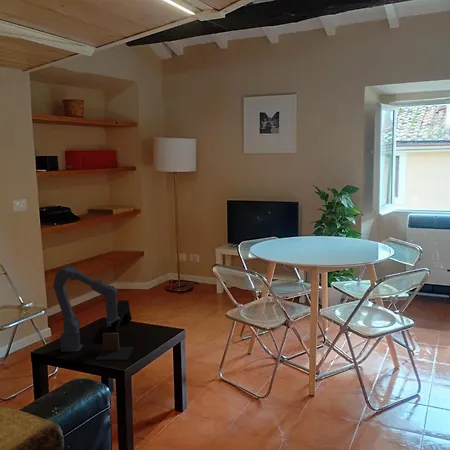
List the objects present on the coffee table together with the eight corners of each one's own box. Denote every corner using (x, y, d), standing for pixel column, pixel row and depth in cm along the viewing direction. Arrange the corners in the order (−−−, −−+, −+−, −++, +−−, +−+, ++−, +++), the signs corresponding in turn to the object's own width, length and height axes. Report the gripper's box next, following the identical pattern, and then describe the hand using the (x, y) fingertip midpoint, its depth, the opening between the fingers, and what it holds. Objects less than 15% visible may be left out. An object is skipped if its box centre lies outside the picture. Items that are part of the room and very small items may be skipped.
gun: (132, 317, 294) (129, 297, 288) (117, 350, 268) (112, 329, 262) (122, 317, 295) (118, 297, 289) (106, 350, 269) (101, 329, 263)
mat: (95, 360, 238) (95, 359, 238) (103, 348, 253) (103, 347, 253) (127, 360, 238) (127, 359, 238) (133, 348, 253) (133, 347, 253)
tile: (103, 350, 249) (102, 334, 247) (104, 349, 250) (103, 332, 249) (118, 350, 249) (117, 333, 247) (119, 349, 250) (118, 332, 249)
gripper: (115, 314, 244) (117, 339, 246) (122, 305, 258) (123, 329, 260) (102, 314, 244) (103, 340, 246) (109, 305, 258) (110, 329, 260)
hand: (113, 334), depth 253 cm, fingers closed
